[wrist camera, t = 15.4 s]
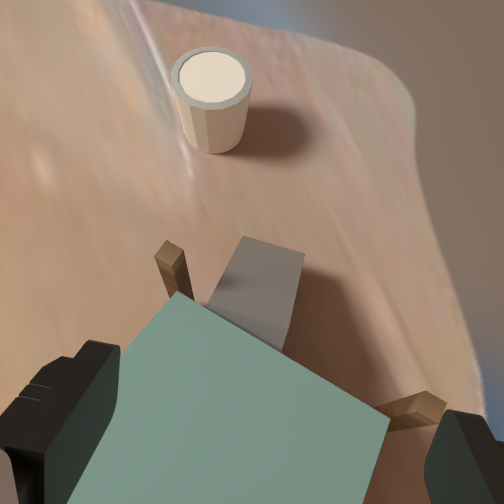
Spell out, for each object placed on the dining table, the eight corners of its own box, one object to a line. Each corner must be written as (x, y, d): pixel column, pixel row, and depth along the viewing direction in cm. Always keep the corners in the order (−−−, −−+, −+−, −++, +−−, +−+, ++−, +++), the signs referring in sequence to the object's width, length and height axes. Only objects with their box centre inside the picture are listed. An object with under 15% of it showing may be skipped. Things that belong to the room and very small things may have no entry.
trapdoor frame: (266, 667, 29) (306, 893, 14) (44, 505, 32) (-120, 548, 17) (379, 419, 36) (492, 391, 20) (183, 301, 39) (155, 200, 23)
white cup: (262, 120, 46) (268, 65, 40) (226, 171, 44) (226, 122, 37) (202, 90, 47) (198, 33, 41) (163, 139, 45) (153, 86, 38)
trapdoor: (274, 743, 17) (281, 747, 17) (-16, 523, 20) (-21, 518, 19) (382, 425, 27) (390, 418, 26) (175, 300, 29) (176, 290, 28)
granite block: (288, 327, 28) (305, 253, 36) (207, 303, 28) (243, 235, 37) (269, 389, 30) (288, 306, 39) (194, 366, 30) (230, 288, 39)
